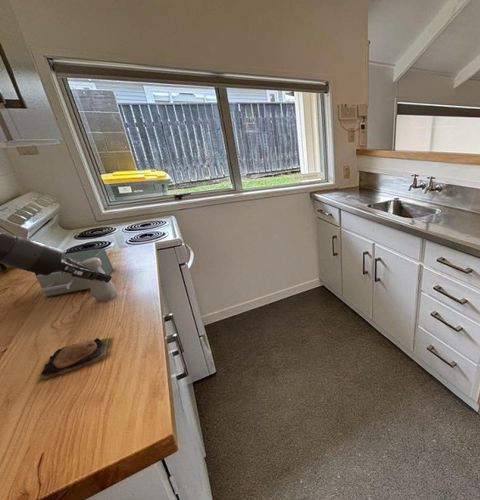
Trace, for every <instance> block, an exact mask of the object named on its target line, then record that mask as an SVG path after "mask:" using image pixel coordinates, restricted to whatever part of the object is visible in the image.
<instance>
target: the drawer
mask: <svg viewBox="0 0 480 500" xmlns="http://www.w3.org/2000/svg"><path fill="white" fill-rule="evenodd" d="M35 278H36V280H37V281H38V283H39V285H40V287H41V288H40V293H41V294H42V295H43V294H44V295H45V296H46V297H47V296H50V295H55V294H61V293H66V292H72V291H78V290H83V289H89V288H90V284H89V280H88V279H83V278H78V277H73V276H71V275H65V274H62V273H61V272H60V271H58V272H53V273H51V274H50V275H37V276H36V275H35Z"/></svg>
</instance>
